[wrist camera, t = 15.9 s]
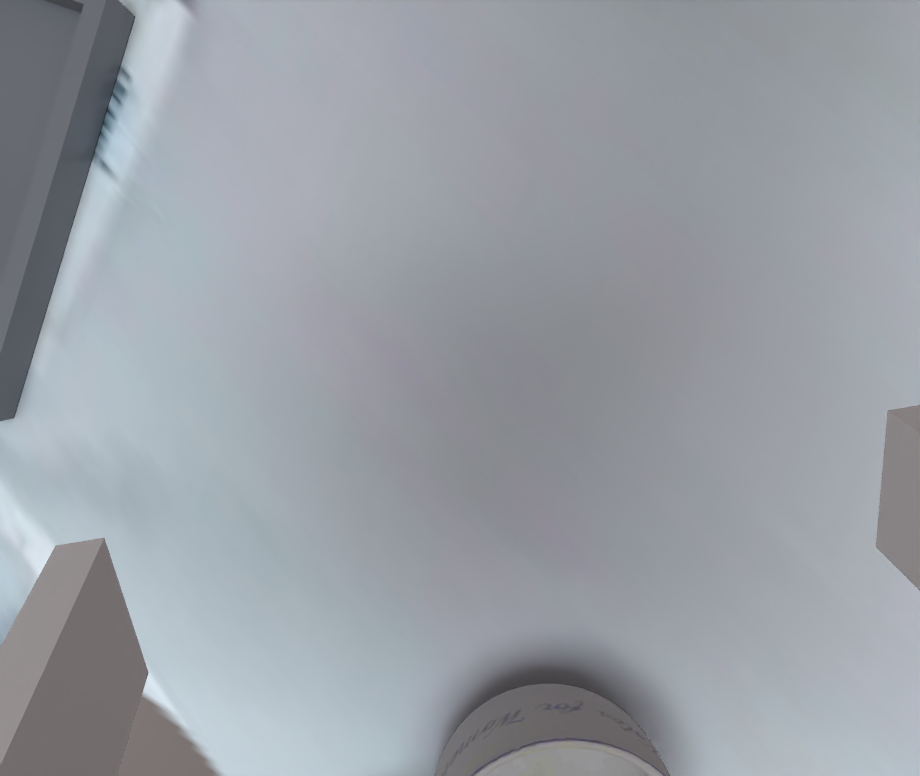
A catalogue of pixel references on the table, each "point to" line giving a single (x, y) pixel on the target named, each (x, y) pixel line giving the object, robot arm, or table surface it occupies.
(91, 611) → the robot arm
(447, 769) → the teacup
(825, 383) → the table surface
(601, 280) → the table surface
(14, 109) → the grey shallow square tray
